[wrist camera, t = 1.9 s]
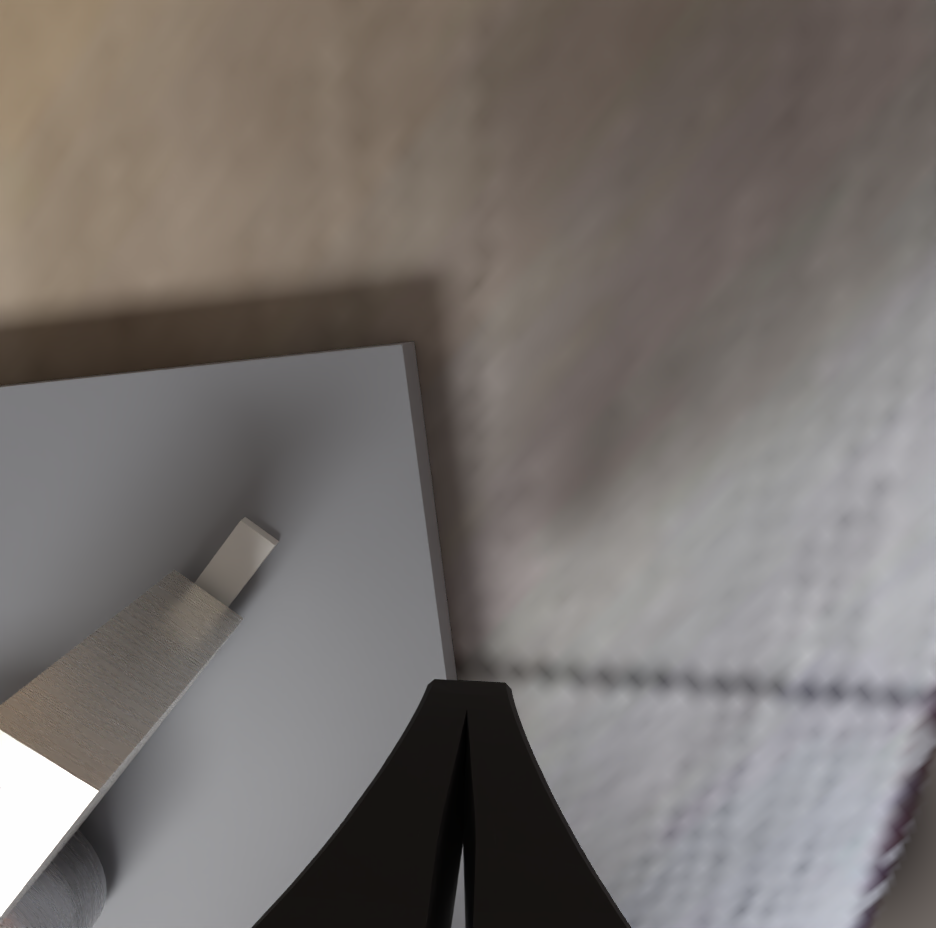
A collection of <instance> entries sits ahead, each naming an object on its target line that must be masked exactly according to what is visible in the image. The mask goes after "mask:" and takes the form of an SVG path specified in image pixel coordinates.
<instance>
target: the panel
mask: <svg viewBox="0 0 936 928" xmlns="http://www.w3.org/2000/svg"><path fill="white" fill-rule="evenodd" d="M174 570H176V571H177V572H178V573H180V574H181V575H183V576H184V577H186V578H187V579H188V580H190V581H191V582H193V583H194V584H196V585H197V586H198V587H200V588H201V589H203V590H204V591H206V592H207V593H208V594H210V595H211V596H213V597H214V598H216V599H217V600H218V601H220V602H221V603H223V604H224V605H225V606H227V607H228V608H230V609H231V610H233V611H234V612H235V613H237V614H238V615H240V616H241V617H243V618H244V619H243V620H242V621H241V623H240V624H239V625H238V626H237V628H236V629H235V630H234V631H233V633H232V634H231V635H230V637H229V638H228V639H227V640H226V642H225V643H224V644H223V645H222V647H221V648H220V649H219V651H218V652H217V653H216V654H215V656H214V657H213V658H212V659H211V661H210V662H209V663H208V665H207V666H206V667H205V668H204V670H203V671H202V672H201V673H200V675H199V676H198V677H197V679H196V680H195V681H194V682H193V684H192V685H191V686H190V687H189V689H188V690H187V691H186V692H185V694H184V695H183V696H182V698H181V699H180V700H179V701H178V703H177V704H176V705H175V706H174V708H173V709H172V710H171V712H170V713H169V714H168V715H167V717H166V718H165V719H164V720H163V722H162V723H161V724H160V726H159V727H158V728H157V729H156V731H155V732H154V733H153V734H152V736H151V737H150V738H149V740H148V741H147V742H146V743H145V745H144V746H143V747H142V748H141V750H140V751H139V752H138V754H137V755H136V756H135V757H134V759H133V760H132V761H131V762H130V764H129V765H128V766H127V768H126V769H125V770H124V771H123V773H122V774H121V775H120V776H119V778H118V779H117V780H116V781H115V783H114V784H113V785H112V787H111V788H110V789H109V790H108V792H107V793H106V794H105V795H104V797H103V798H102V799H101V801H100V802H99V803H98V804H97V806H96V807H95V808H94V809H93V811H92V812H91V813H90V815H89V816H88V817H87V818H86V820H85V821H84V822H83V823H82V825H81V826H80V827H79V830H80V831H81V832H82V833H83V834H84V835H85V837H86V838H87V839H88V841H89V842H90V843H91V845H92V846H93V848H94V850H95V851H96V853H97V855H98V857H99V859H100V861H101V863H102V866H103V869H104V873H105V876H106V885H107V893H106V901H105V905H104V908H103V910H102V912H101V915H100V916H99V918H98V920H97V921H96V923H95V924H94V926H93V927H92V928H251V927H252V926H253V925H254V924H255V923H256V922H257V921H258V920H259V919H260V918H261V917H262V916H263V914H264V913H265V912H266V911H267V910H268V909H269V908H270V907H271V906H272V905H273V904H274V902H275V901H276V900H277V899H278V898H279V897H280V896H281V895H282V894H283V893H284V892H285V891H286V889H287V888H288V887H289V886H290V885H291V884H292V883H293V882H294V880H295V879H296V878H297V877H298V876H299V875H300V873H301V872H302V871H303V870H304V869H305V867H306V866H307V865H308V864H309V863H310V862H311V860H312V859H313V858H314V857H315V856H316V855H317V853H318V852H319V851H320V850H321V848H322V847H323V846H324V845H325V843H326V842H327V841H328V840H329V838H330V837H331V836H332V835H333V833H334V832H335V831H336V830H337V828H338V827H339V826H340V824H341V823H342V822H343V821H344V819H345V818H346V816H347V815H348V814H349V812H350V811H351V810H352V808H353V807H354V805H355V804H356V803H357V801H358V800H359V799H360V797H361V796H362V794H363V793H364V792H365V790H366V789H367V787H368V786H369V785H370V783H371V782H372V781H373V779H374V778H375V776H376V775H377V773H378V772H379V770H380V769H381V767H382V766H383V764H384V763H385V761H386V759H387V758H388V756H389V755H390V753H391V752H392V750H393V748H394V747H395V745H396V744H397V742H398V741H399V739H400V737H401V736H402V734H403V732H404V731H405V729H406V727H407V725H408V724H409V722H410V720H411V718H412V717H413V715H414V713H415V711H416V709H417V707H418V705H419V703H420V701H421V699H422V697H423V695H424V693H425V690H426V688H427V685H428V684H429V683H430V682H431V681H433V680H434V679H444V680H457V674H456V666H455V658H454V650H453V643H452V635H451V627H450V619H449V611H448V603H447V595H446V587H445V580H444V572H443V564H442V556H441V548H440V540H439V532H438V525H437V517H436V509H435V501H434V493H433V485H432V477H431V470H430V462H429V454H428V446H427V438H426V430H425V422H424V415H423V407H422V399H421V391H420V383H419V375H418V367H417V360H416V352H415V344H414V341H412V342H402V343H393V344H384V345H374V346H365V347H356V348H346V349H337V350H327V351H318V352H309V353H299V354H290V355H281V356H271V357H262V358H253V359H243V360H234V361H225V362H215V363H206V364H197V365H187V366H178V367H169V368H159V369H150V370H141V371H131V372H122V373H113V374H103V375H94V376H85V377H75V378H66V379H57V380H47V381H38V382H29V383H19V384H10V385H1V386H0V705H1V704H3V703H4V702H5V701H6V700H8V699H9V698H10V697H12V696H13V695H14V694H15V693H17V692H18V691H19V690H21V689H22V688H23V687H24V686H26V685H27V684H28V683H30V682H31V681H32V680H33V679H35V678H36V677H37V676H39V675H40V674H41V673H42V672H44V671H45V670H46V669H48V668H49V667H50V666H51V665H53V664H54V663H55V662H57V661H58V660H59V659H60V658H62V657H63V656H64V655H66V654H67V653H68V652H69V651H71V650H72V649H73V648H75V647H76V646H77V645H78V644H80V643H81V642H82V641H84V640H85V639H86V638H87V637H89V636H90V635H91V634H93V633H94V632H95V631H96V630H98V629H99V628H100V627H102V626H103V625H104V624H105V623H107V622H108V621H109V620H111V619H112V618H113V617H114V616H116V615H117V614H118V613H120V612H121V611H122V610H123V609H125V608H126V607H127V606H129V605H130V604H131V603H132V602H134V601H135V600H136V599H138V598H139V597H140V596H141V595H143V594H144V593H145V592H147V591H148V590H149V589H150V588H152V587H153V586H154V585H156V584H157V583H158V582H159V581H161V580H162V579H163V578H165V577H166V576H167V575H168V574H170V573H171V572H172V571H174ZM451 928H465V900H464V862H463V848H462V855H461V862H460V869H459V877H458V884H457V891H456V898H455V905H454V912H453V919H452V926H451Z"/></svg>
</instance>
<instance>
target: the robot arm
mask: <svg viewBox="0 0 936 928" xmlns="http://www.w3.org/2000/svg"><path fill="white" fill-rule="evenodd" d="M462 848H463V862H464V900H465V928H631V926H630V925H629V923H628V922H627V921H626V919H625V918H624V916H623V915H622V913H621V912H620V910H619V908H618V907H617V905H616V904H615V902H614V901H613V899H612V897H611V896H610V894H609V893H608V891H607V890H606V888H605V886H604V885H603V883H602V882H601V880H600V879H599V877H598V875H597V874H596V872H595V870H594V869H593V867H592V865H591V864H590V862H589V860H588V859H587V857H586V855H585V853H584V852H583V850H582V848H581V847H580V845H579V843H578V841H577V839H576V838H575V836H574V834H573V832H572V830H571V828H570V827H569V825H568V823H567V821H566V819H565V818H564V816H563V814H562V812H561V810H560V808H559V806H558V804H557V802H556V800H555V798H554V796H553V794H552V792H551V790H550V788H549V786H548V784H547V782H546V780H545V778H544V775H543V773H542V771H541V769H540V767H539V765H538V763H537V761H536V758H535V756H534V754H533V752H532V749H531V747H530V745H529V742H528V740H527V737H526V734H525V732H524V729H523V727H522V724H521V721H520V718H519V716H518V713H517V710H516V706H515V703H514V699H513V695H512V690H511V688H510V687H509V686H508V685H507V684H506V683H500V682H481V681H463V680H444V679H434V680H433V681H431V682H430V683H429V684H428V685H427V688H426V690H425V693H424V695H423V697H422V699H421V701H420V703H419V705H418V707H417V709H416V711H415V713H414V715H413V717H412V718H411V720H410V722H409V724H408V725H407V727H406V729H405V731H404V732H403V734H402V736H401V737H400V739H399V741H398V742H397V744H396V745H395V747H394V748H393V750H392V752H391V753H390V755H389V756H388V758H387V759H386V761H385V763H384V764H383V766H382V767H381V769H380V770H379V772H378V773H377V775H376V776H375V778H374V779H373V781H372V782H371V783H370V785H369V786H368V787H367V789H366V790H365V792H364V793H363V794H362V796H361V797H360V799H359V800H358V801H357V803H356V804H355V805H354V807H353V808H352V810H351V811H350V812H349V814H348V815H347V816H346V818H345V819H344V821H343V822H342V823H341V824H340V826H339V827H338V828H337V830H336V831H335V832H334V833H333V835H332V836H331V837H330V838H329V840H328V841H327V842H326V843H325V845H324V846H323V847H322V848H321V850H320V851H319V852H318V853H317V855H316V856H315V857H314V858H313V859H312V860H311V862H310V863H309V864H308V865H307V866H306V867H305V869H304V870H303V871H302V872H301V873H300V875H299V876H298V877H297V878H296V879H295V880H294V882H293V883H292V884H291V885H290V886H289V887H288V888H287V889H286V891H285V892H284V893H283V894H282V895H281V896H280V897H279V898H278V899H277V900H276V901H275V902H274V904H273V905H272V906H271V907H270V908H269V909H268V910H267V911H266V912H265V913H264V914H263V916H262V917H261V918H260V919H259V920H258V921H257V922H256V923H255V924H254V925H253V926H252V927H251V928H451V926H452V919H453V912H454V905H455V898H456V891H457V884H458V877H459V869H460V862H461V855H462Z"/></svg>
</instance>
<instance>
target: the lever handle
mask: <svg viewBox="0 0 936 928" xmlns="http://www.w3.org/2000/svg"><path fill="white" fill-rule="evenodd" d="M243 619H244V618H243V617H241V616H240V615H238V614H237V613H235V612H234V611H233V610H231V609H230V608H228V607H227V606H225V605H224V604H223V603H221V602H220V601H218V600H217V599H216V598H214V597H213V596H211V595H210V594H208V593H207V592H206V591H204V590H203V589H201V588H200V587H198V586H197V585H196V584H194V583H193V582H191V581H190V580H188V579H187V578H186V577H184V576H183V575H181V574H180V573H178V572H177V571H176V570H174V571H172V572H171V573H170V574H168V575H167V576H166V577H165V578H163V579H162V580H161V581H159V582H158V583H157V584H156V585H154V586H153V587H152V588H150V589H149V590H148V591H147V592H145V593H144V594H143V595H141V596H140V597H139V598H138V599H136V600H135V601H134V602H132V603H131V604H130V605H129V606H127V607H126V608H125V609H123V610H122V611H121V612H120V613H118V614H117V615H116V616H114V617H113V618H112V619H111V620H109V621H108V622H107V623H105V624H104V625H103V626H102V627H100V628H99V629H98V630H96V631H95V632H94V633H93V634H91V635H90V636H89V637H87V638H86V639H85V640H84V641H82V642H81V643H80V644H78V645H77V646H76V647H75V648H73V649H72V650H71V651H69V652H68V653H67V654H66V655H64V656H63V657H62V658H60V659H59V660H58V661H57V662H55V663H54V664H53V665H51V666H50V667H49V668H48V669H46V670H45V671H44V672H42V673H41V674H40V675H39V676H37V677H36V678H35V679H33V680H32V681H31V682H30V683H28V684H27V685H26V686H24V687H23V688H22V689H21V690H19V691H18V692H17V693H15V694H14V695H13V696H12V697H10V698H9V699H8V700H6V701H5V702H4V703H3V704H1V705H0V928H92V927H93V926H94V924H95V923H96V921H97V920H98V918H99V916H100V915H101V912H102V910H103V908H104V905H105V901H106V893H107V885H106V876H105V873H104V869H103V866H102V863H101V861H100V859H99V857H98V855H97V853H96V851H95V850H94V848H93V846H92V845H91V843H90V842H89V841H88V839H87V838H86V837H85V835H84V834H83V833H82V832H81V831H80V830H79V827H80V826H81V825H82V823H83V822H84V821H85V820H86V818H87V817H88V816H89V815H90V813H91V812H92V811H93V809H94V808H95V807H96V806H97V804H98V803H99V802H100V801H101V799H102V798H103V797H104V795H105V794H106V793H107V792H108V790H109V789H110V788H111V787H112V785H113V784H114V783H115V781H116V780H117V779H118V778H119V776H120V775H121V774H122V773H123V771H124V770H125V769H126V768H127V766H128V765H129V764H130V762H131V761H132V760H133V759H134V757H135V756H136V755H137V754H138V752H139V751H140V750H141V748H142V747H143V746H144V745H145V743H146V742H147V741H148V740H149V738H150V737H151V736H152V734H153V733H154V732H155V731H156V729H157V728H158V727H159V726H160V724H161V723H162V722H163V720H164V719H165V718H166V717H167V715H168V714H169V713H170V712H171V710H172V709H173V708H174V706H175V705H176V704H177V703H178V701H179V700H180V699H181V698H182V696H183V695H184V694H185V692H186V691H187V690H188V689H189V687H190V686H191V685H192V684H193V682H194V681H195V680H196V679H197V677H198V676H199V675H200V673H201V672H202V671H203V670H204V668H205V667H206V666H207V665H208V663H209V662H210V661H211V659H212V658H213V657H214V656H215V654H216V653H217V652H218V651H219V649H220V648H221V647H222V645H223V644H224V643H225V642H226V640H227V639H228V638H229V637H230V635H231V634H232V633H233V631H234V630H235V629H236V628H237V626H238V625H239V624H240V623H241V621H242V620H243Z"/></svg>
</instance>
